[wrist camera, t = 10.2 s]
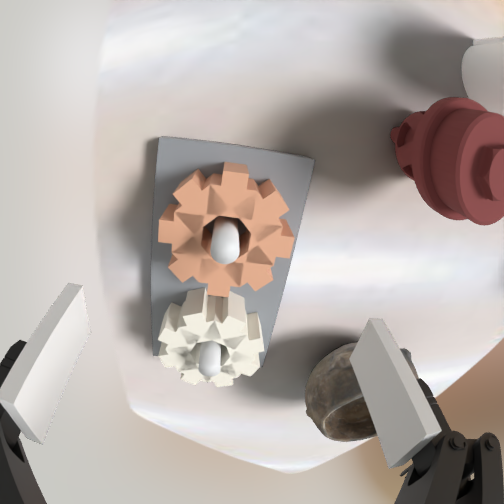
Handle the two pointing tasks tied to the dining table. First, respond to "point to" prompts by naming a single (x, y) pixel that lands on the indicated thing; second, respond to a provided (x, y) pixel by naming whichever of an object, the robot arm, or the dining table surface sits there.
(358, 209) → the dining table surface
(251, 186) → the gear
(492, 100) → the white joined open cylinders
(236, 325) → the gear
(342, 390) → the bowl
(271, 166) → the gear board
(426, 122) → the mechanical component
